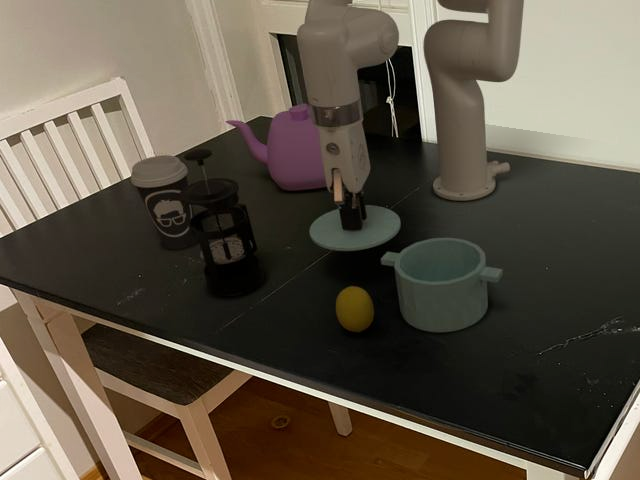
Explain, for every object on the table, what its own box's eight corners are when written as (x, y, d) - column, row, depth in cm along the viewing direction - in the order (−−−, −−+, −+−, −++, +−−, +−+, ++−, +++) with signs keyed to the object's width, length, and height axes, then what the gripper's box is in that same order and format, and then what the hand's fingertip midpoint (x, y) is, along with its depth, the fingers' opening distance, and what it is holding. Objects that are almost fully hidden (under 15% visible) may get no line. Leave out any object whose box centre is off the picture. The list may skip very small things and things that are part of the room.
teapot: (349, 151, 167) (338, 84, 158) (352, 190, 150) (340, 118, 141) (247, 162, 165) (230, 95, 155) (239, 203, 148) (219, 130, 139)
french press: (241, 304, 119) (201, 169, 105) (193, 295, 122) (148, 163, 107) (280, 267, 127) (248, 138, 113) (235, 260, 130) (198, 133, 116)
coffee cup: (218, 233, 139) (196, 157, 129) (183, 257, 132) (156, 179, 123) (180, 225, 142) (155, 150, 133) (143, 248, 135) (114, 171, 126)
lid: (338, 207, 128) (332, 173, 125) (415, 217, 124) (412, 183, 120) (293, 247, 118) (285, 211, 114) (375, 260, 113) (370, 223, 109)
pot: (407, 276, 123) (402, 230, 118) (515, 293, 117) (514, 246, 112) (370, 320, 113) (362, 273, 108) (486, 342, 108) (483, 293, 102)
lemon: (370, 344, 109) (362, 298, 104) (335, 341, 110) (325, 296, 105) (382, 322, 113) (374, 278, 108) (347, 320, 114) (339, 275, 109)
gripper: (348, 131, 102) (366, 249, 113) (372, 93, 115) (387, 202, 126) (295, 132, 103) (319, 248, 114) (326, 94, 115) (344, 202, 127)
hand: (354, 223), depth 120 cm, fingers closed on lid, 2 cm apart
